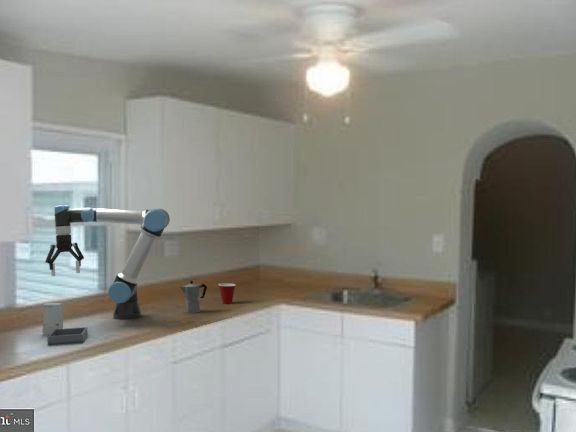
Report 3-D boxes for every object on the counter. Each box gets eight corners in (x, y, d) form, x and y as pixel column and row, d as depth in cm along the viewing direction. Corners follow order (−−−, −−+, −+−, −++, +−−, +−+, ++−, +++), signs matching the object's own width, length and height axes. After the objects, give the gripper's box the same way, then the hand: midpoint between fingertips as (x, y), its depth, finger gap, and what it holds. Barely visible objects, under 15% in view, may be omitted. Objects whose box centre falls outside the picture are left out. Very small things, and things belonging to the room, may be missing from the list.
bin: (87, 335, 279) (87, 327, 279) (83, 342, 264) (82, 334, 264) (54, 337, 276) (54, 329, 276) (47, 345, 261) (47, 336, 261)
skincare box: (42, 334, 283) (41, 304, 283) (47, 332, 289) (46, 302, 289) (59, 334, 283) (58, 304, 283) (64, 331, 289) (63, 302, 289)
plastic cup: (238, 303, 353) (238, 284, 352) (221, 305, 349) (220, 285, 348) (233, 301, 363) (233, 282, 362) (216, 302, 359) (216, 283, 358)
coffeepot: (182, 314, 325) (181, 282, 324) (179, 311, 334) (178, 280, 333) (209, 311, 330) (208, 280, 330) (205, 308, 339) (204, 278, 339)
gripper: (82, 232, 317) (84, 271, 318) (36, 236, 299) (39, 277, 299) (89, 232, 312) (91, 271, 313) (43, 236, 294) (46, 277, 294)
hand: (66, 274), depth 306 cm, fingers open, 13 cm apart
